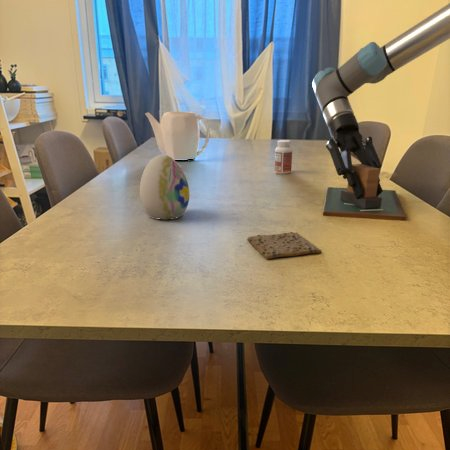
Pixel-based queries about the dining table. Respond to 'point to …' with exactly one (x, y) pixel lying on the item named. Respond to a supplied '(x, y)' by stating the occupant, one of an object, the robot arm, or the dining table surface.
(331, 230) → the dining table surface
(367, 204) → the eraser
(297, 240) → the cookie
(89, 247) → the dining table surface
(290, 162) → the pill bottle
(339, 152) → the robot arm
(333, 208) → the chalkboard
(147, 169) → the decorative egg
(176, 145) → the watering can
